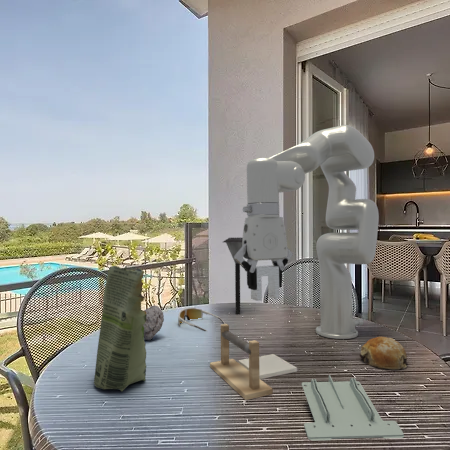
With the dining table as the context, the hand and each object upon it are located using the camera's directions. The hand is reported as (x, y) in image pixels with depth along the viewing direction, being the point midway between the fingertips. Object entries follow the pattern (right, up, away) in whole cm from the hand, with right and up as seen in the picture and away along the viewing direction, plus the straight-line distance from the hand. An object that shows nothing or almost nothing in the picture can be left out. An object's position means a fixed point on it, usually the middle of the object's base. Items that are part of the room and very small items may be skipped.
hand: (265, 287), depth 81 cm
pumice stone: (-33, -20, +22) cm, 44 cm away
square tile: (0, -19, 0) cm, 19 cm away
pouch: (-31, -19, -8) cm, 37 cm away
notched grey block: (0, -3, 0) cm, 3 cm away
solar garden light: (-4, -21, +54) cm, 58 cm away
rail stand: (-7, -19, -7) cm, 21 cm away
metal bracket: (+11, -19, -22) cm, 31 cm away
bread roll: (+29, -19, +2) cm, 35 cm away
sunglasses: (-18, -21, +39) cm, 47 cm away
